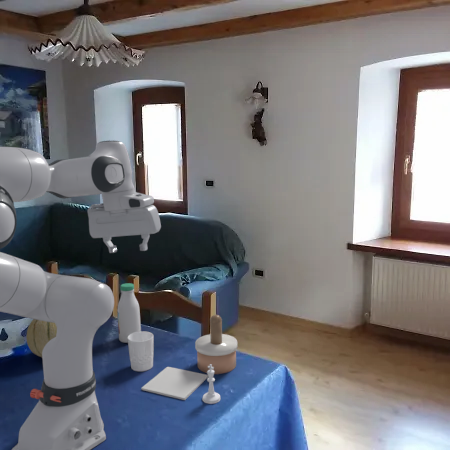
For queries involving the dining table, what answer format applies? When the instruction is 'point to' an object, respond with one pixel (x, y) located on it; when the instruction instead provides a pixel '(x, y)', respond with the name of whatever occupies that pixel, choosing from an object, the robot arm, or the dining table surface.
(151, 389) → the mat
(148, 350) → the white cup
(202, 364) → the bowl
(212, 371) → the chess piece
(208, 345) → the lid
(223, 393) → the dining table surface
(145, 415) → the dining table surface
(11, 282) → the robot arm
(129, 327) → the milk bottle
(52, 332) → the cantaloupe
